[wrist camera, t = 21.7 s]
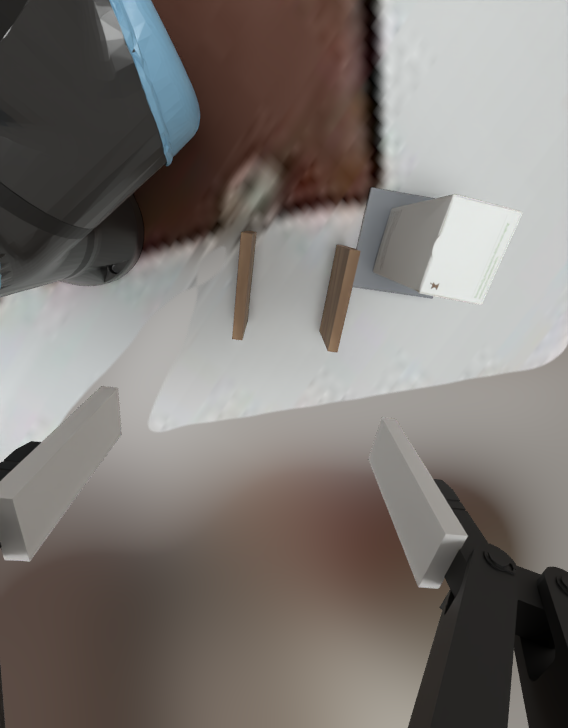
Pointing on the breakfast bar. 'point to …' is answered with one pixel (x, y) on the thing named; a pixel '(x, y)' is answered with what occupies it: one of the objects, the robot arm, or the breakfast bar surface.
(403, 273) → the skincare box
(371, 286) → the slate coaster
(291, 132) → the breakfast bar surface
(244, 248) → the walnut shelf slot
